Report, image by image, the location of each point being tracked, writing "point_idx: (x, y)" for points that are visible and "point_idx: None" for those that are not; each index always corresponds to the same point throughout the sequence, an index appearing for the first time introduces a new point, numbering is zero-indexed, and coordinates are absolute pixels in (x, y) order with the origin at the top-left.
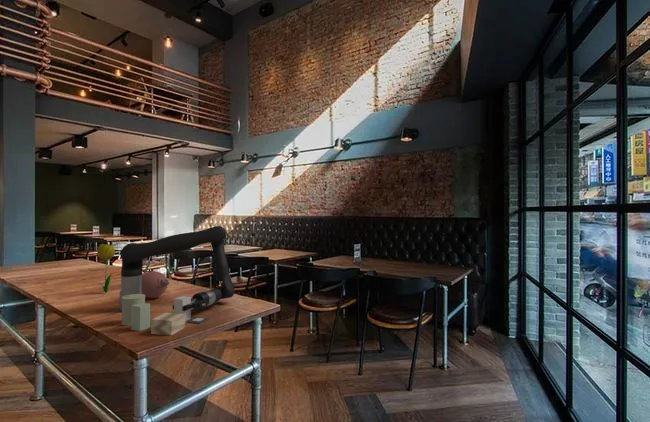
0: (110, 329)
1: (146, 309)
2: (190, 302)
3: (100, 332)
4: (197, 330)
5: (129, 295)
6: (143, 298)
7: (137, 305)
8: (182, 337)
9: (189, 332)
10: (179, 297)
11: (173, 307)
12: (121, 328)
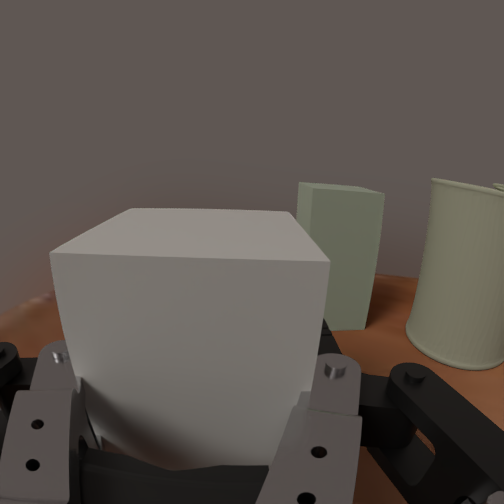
0: (411, 289)
1: (304, 213)
2: (75, 356)
3: (399, 276)
4: (6, 335)
5: (494, 183)
6: (456, 197)
7: (336, 185)
8: (54, 292)
9: (38, 320)
10: (276, 229)
11: None
12: (394, 299)
